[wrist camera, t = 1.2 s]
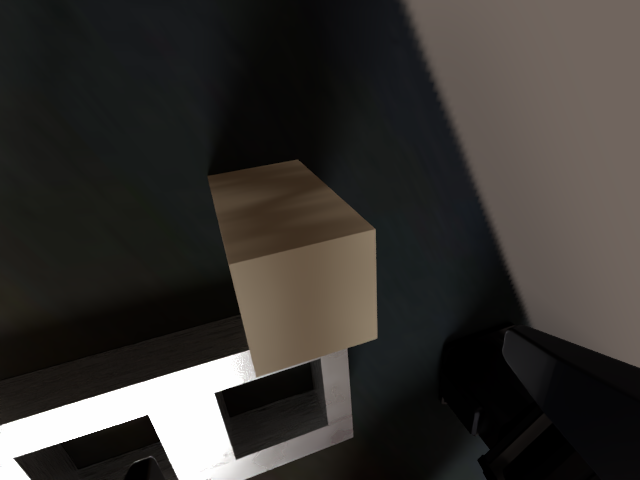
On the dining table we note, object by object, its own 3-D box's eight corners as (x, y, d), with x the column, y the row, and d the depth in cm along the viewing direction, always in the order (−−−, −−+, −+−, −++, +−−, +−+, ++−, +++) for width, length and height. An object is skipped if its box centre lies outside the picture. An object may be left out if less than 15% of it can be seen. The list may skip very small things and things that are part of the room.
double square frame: (326, 290, 22) (345, 320, 20) (336, 401, 27) (353, 437, 25) (-23, 387, 18) (-56, 442, 16) (62, 499, 23) (48, 555, 20)
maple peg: (297, 159, 18) (375, 229, 11) (307, 237, 20) (377, 338, 13) (207, 176, 17) (228, 264, 10) (226, 256, 19) (256, 377, 12)
